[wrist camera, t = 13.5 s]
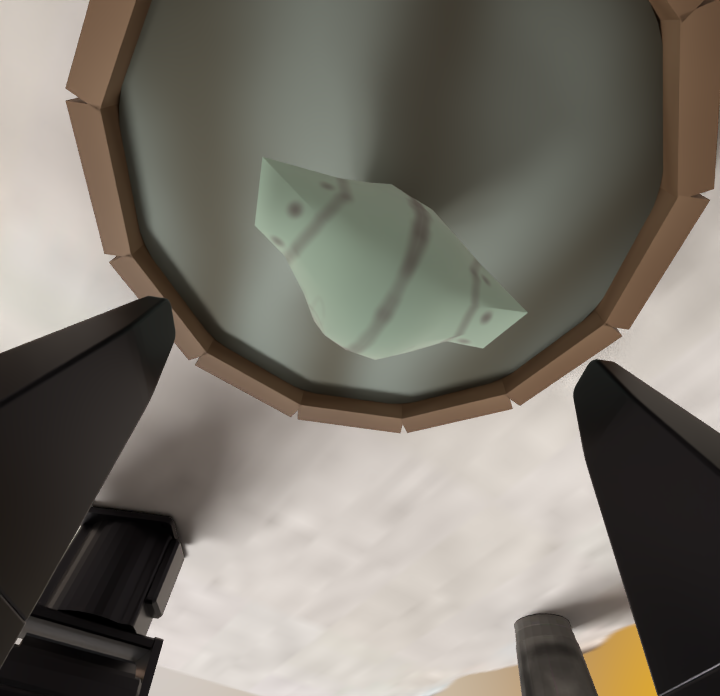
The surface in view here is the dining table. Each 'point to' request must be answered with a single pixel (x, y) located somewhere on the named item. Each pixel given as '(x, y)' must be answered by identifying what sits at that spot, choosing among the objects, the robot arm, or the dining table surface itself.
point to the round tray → (399, 173)
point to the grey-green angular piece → (378, 264)
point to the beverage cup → (550, 658)
